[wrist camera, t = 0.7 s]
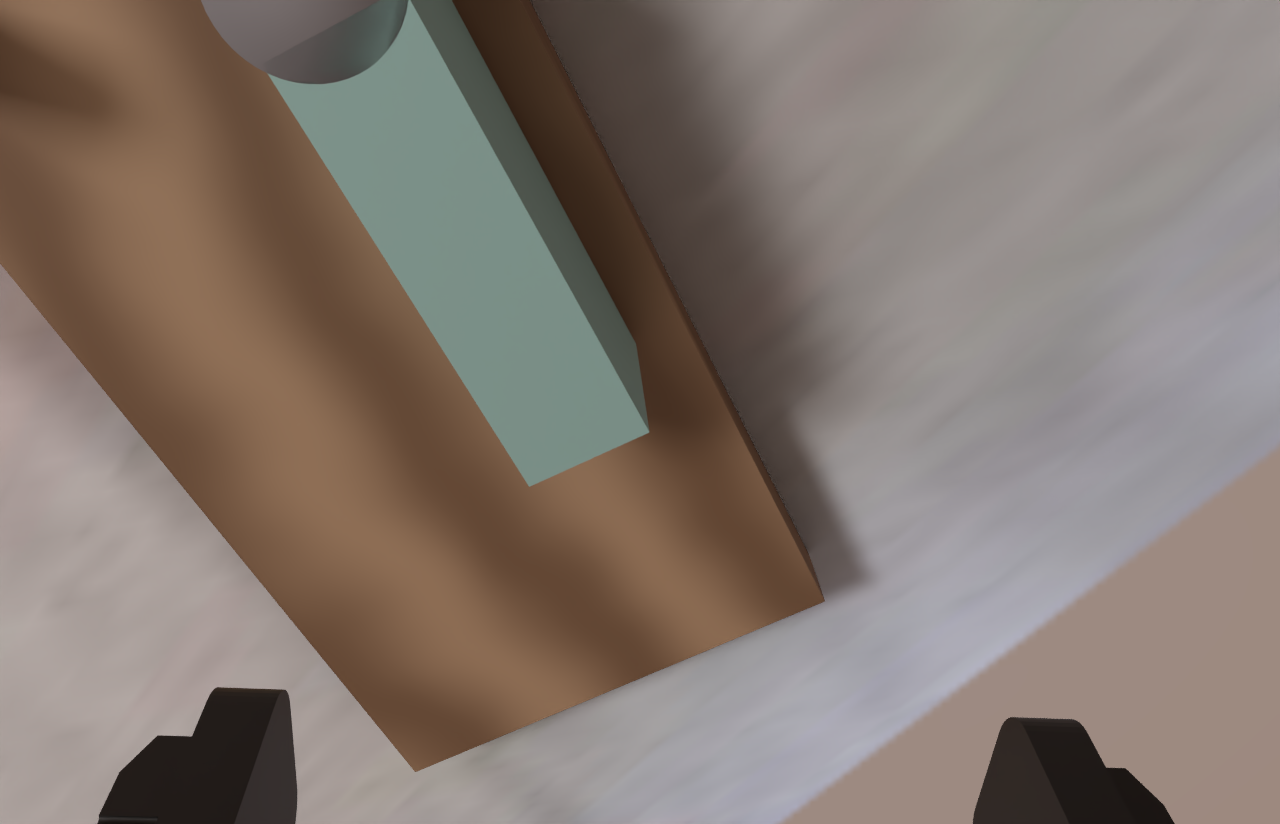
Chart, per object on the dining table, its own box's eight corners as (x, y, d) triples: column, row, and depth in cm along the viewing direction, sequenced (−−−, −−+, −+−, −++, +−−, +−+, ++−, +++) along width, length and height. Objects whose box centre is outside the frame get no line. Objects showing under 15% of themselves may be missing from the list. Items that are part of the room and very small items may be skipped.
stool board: (382, -294, 26) (323, -329, 19) (809, 555, 38) (862, 711, 32) (-136, 8, 28) (-346, 68, 22) (422, 719, 40) (397, 897, 34)
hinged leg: (219, -96, 25) (148, -76, 21) (373, -184, 25) (334, -183, 20) (519, 398, 32) (514, 493, 27) (649, 337, 31) (664, 425, 26)
